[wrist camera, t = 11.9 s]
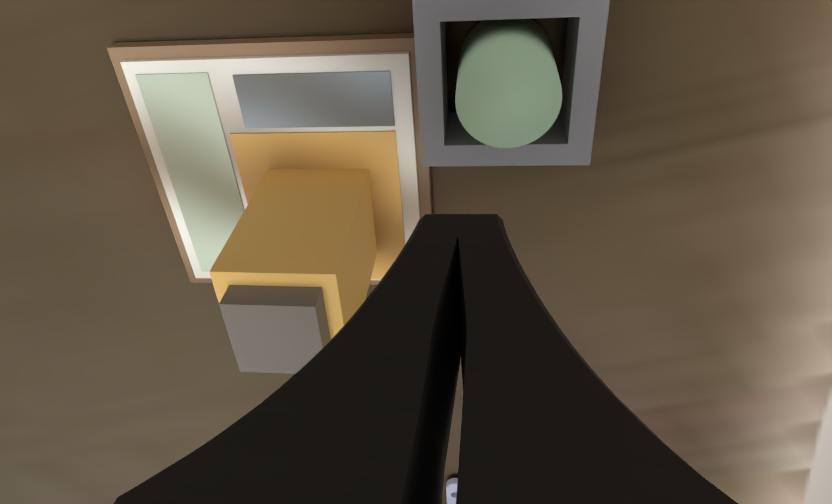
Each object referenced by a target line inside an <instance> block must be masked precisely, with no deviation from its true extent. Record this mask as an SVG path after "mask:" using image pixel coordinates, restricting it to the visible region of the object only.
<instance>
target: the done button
mask: <svg viewBox="0 0 832 504" xmlns="http://www.w3.org/2000/svg"><path fill="white" fill-rule="evenodd" d="M561 104H562V86H561V82H560V78H559V74H558V70H557V66H556V62H555V58H554V54H553V50H552V47H551V43H550V40H549V38H548V36H547V34H546V33H545V31H544V30H543V29H542V27H541V26H540V25H539V24H537V23H536V22H535V21H533V20H532V19H504V20H482V21H481V22H480V23H478V24H477V25H476V26H475V27H474V28H473V29H472V30H471V31H470V32H469V33H468V35H467V36H466V38H465V40H464V42H463V44H462V47H461V50H460V56H459V65H458V75H457V84H456V94H455V106H456V111H457V115H458V118H459V120H460V122H461V124H462V126H463V127H464V128H465V130H466V131H467V132H468V133H469V134H470V135H471V136H472V137H474V138H475V139H476V140H478V141H480V142H482V143H484V144H486V145H489V146H492V147H497V148H515V147H520V146H523V145H527V144H529V143H531V142H533V141H535V140H537V139H538V138H540V137H541V136H542V135H544V134H545V133H546V132H547V131H548V130H549V129H550V127H551V126H552V125H553V123H554V122H555V120H556V119H557V116H558V114H559V112H560V108H561Z"/></svg>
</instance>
